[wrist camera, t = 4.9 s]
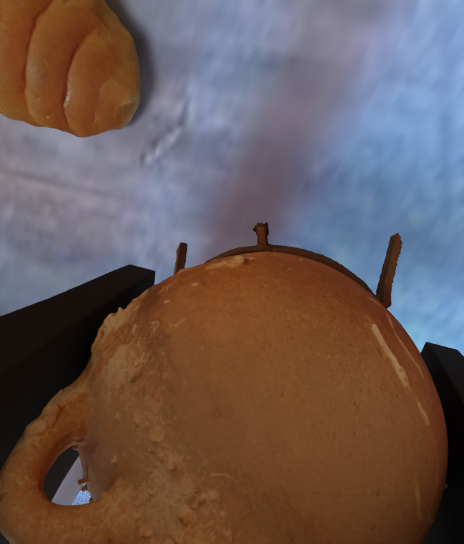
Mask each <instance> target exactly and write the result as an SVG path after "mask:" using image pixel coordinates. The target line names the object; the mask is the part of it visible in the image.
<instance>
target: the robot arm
mask: <svg viewBox="0 0 464 544" xmlns="http://www.w3.org/2000/svg"><path fill="white" fill-rule="evenodd" d="M154 281H155V271H153V270H149V269H145V268H141V267H138V266H134V265H127V266H124V267H121V268H119V269H116V270H114V271H112V272H109V273H107V274H105V275H102V276H100V277H98V278H95V279H93V280H91V281H88V282H86V283H84V284H81V285H79V286H77V287H74V288H72V289H70V290H67V291H65V292H63V293H60V294H58V295H56V296H53V297H51V298H48V299H46V300H43V301H40V302H38V303H35V304H32V305H30V306H27V307H24V308H22V309H19V310H17V311H14V312H11V313H9V314H6V315H3V316H1V317H0V470H1V468H2V466H3V465H4V463H5V461H6V460H7V458H8V456H9V455H10V453H11V451H12V450H13V448H14V447H15V445H16V444H17V442H18V441H19V439H20V438H21V436H22V435H23V433H24V430H25V428H26V426H27V425H29V424H30V423H31V422H32V421H34V420H35V419H37V418H38V417H39V416H40V415H41V414H42V411H43V409H44V407H45V406H47V404H48V403H49V402H50V400H51V399H52V398H53V397H54V396H55V395H56V394H57V393H58V392H59V391H60V390H64V389H65V387H68V386H69V385H71V384H72V383H73V382H74V381H75V380H76V379H77V378H78V377H79V376H80V375H81V374H82V372H83V371H84V370H85V368H86V366H87V364H88V361H89V359H90V357H91V355H92V352H91V346H92V344H93V343H94V341H95V339H96V337H97V334H98V329H99V328H100V327H101V326H102V325H103V322H104V320H105V319H106V318H107V317H108V315H109V314H111V313H113V314H114V313H117V312H118V308H119V307H121V308H122V309H126V308H127V306H128V305H129V304H130V303H131V302H132V300H133V299H135V298H138V297H139V296H140V295H141V294H142V293H143V292H144V291H146V290H147V289H149V288H151V287H152V286H154ZM421 356H422V358H423V360H424V362H425V364H426V366H427V368H428V370H429V373H430V375H431V377H432V380H433V382H434V385H435V388H436V390H437V393H438V395H439V399H440V402H441V405H442V409H443V412H444V418H445V423H446V429H447V437H448V438H447V439H448V466H447V476H446V484H447V486H448V487H447V488H446V489H444V492H443V496H442V500H441V503H440V506H439V509H438V513H437V515H436V518H435V521H434V523H433V524H432V526H431V528H430V530H429V532H428V534H427V535H426V537H425V538H424V540H423V542H422V543H421V544H464V356H463V355H462V354H461V353H460V352H459V351H458V350H456V349H452V348H448V347H444V346H440V345H437V344H433V343H429V342H426V343H425V345H424V347H423V349H422V351H421ZM72 446H73V445H72ZM72 446H71V447H69V448H68V449H66V450H65V451H64V452H63V453H61V454H60V455H59V456H58V457H57V459H56V460H55V462H54V463H53V464H52V466H51V467H50V469H49V470H48V472H47V475H46V476H45V481H44V491H45V493H46V496H47V498H48V499H49V500H50V501H51V502H53V503H56V504H60V505H67V506H70V505H72V503H73V502H74V500H75V498H76V497H77V495H78V493H79V492H80V490H81V488H82V487H83V485H84V483H83V484H81V485H78V483H77V480H79V479H82V478H83V477H84V473H83V470H82V465H81V461H80V457H79V452H78V451H77V450H74V449H73V447H72ZM0 544H10V543H9V541H8V540H7V539H6V538H5V537H4V536H3V534H2V533H1V531H0Z"/></svg>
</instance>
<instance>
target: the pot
mask: <svg viewBox="0 0 464 544" xmlns="http://www.w3.org/2000/svg"><path fill="white" fill-rule="evenodd" d="M253 231H254V232H256V235H257V236H258V238H257V239H258V241H257V242H258V244H257V245H256V246H248V247H239V248H235V249H232V250H229V251H227V252H224V253H222V254H220V255H218V256H216V257H213V258H212V259H210V260H208V261H206V262H205V263H204V264H201V265H198V266H195V267H191V268H185V262H186V253H187V244H186V243H180V244H179V247H178V249H177V252H176V253H177V258H176V264H175V271H174V275H173V276H171V277H169V278H167V279H166V280H164V281H162V282H161V283H159V284H157V285H154V286H152V287H151V288H149V289H147V290H146V291H144V292H143V293H142V294H141V295H140V296H139V297H138V298H135V299H133V300H132V302H131V303H130V304H129V305H128V306H127V308H126V309H122V308H121V307H119V308H118V312H117V313H114V314H113V313H111V314H109V315H108V317H107V318H106V319H105V320H104V322H103V325H102V326H101V327H100V328H99V329H98V334H97V337H96V339H95V341H94V343H93V344H92V346H91V352H92V355H91V357H90V359H89V361H88V364H87V366H86V368H85V370H84V371H83V372H82V374H81V375H80V376H79V377H78V378H77V379H76V380H75V381H74V382H73V383H72V384H71V385H69V386H68V387H65V389H64V390H60V391H59V392H58V393H57V394H56V395H55V396H54V397H53V398H52V399H51V400H50V402H49V403H48V404H47V406H45V407H44V409H43V411H42V414H41V415H40V416H39V417H38V418H37V419H35V420H34V421H32V422H31V423H30V424H29V425H27V426H26V428H25V430H24V433H23V435H22V436H21V438H20V439H19V441H18V442H17V444H16V445H15V447H14V448H13V450H12V451H11V453H10V455H9V456H8V458H7V460H6V461H5V463H4V465H3V466H2V468H1V470H0V531H1V533H2V534H3V536H4V537H5V538H6V539H7V540H8V541H9V543H10V544H421V543H422V542H423V540H424V538H425V537H426V535H427V534H428V532H429V530H430V528H431V526H432V524H433V523H434V521H435V518H436V515H437V513H438V509H439V506H440V503H441V500H442V496H443V492H444V489H446V488H447V487H448V486H447V484H446V476H447V466H448V439H447V438H448V437H447V429H446V423H445V418H444V412H443V409H442V405H441V402H440V399H439V395H438V393H437V390H436V388H435V385H434V382H433V380H432V377H431V375H430V373H429V370H428V368H427V366H426V364H425V362H424V360H423V358H422V356H421V354H420V352H419V350H418V349H417V347H416V345H415V344H414V342H413V341H412V339H411V338H410V336H409V335H408V334H407V332H406V331H405V329H404V328H403V327H402V325H401V324H400V323H399V322H398V321H397V319H396V318H395V317H394V316H393V315H392V314H391V313H390V312H389V311H388V310H387V308H388V307H390V306H391V291H392V283H393V278H394V276H395V270H396V266H397V261H398V257H399V254H400V251H401V247H402V246H401V245H402V241H401V237H400V235H399V233H396V235H393V236H392V237H391V238H390V241H389V246H388V249H387V253H386V258H385V260H384V264H383V268H382V273H381V275H380V280H379V283H378V288H377V290H376V292H377V293H376V295H375V294H374V293H373V292H372V291H371V289H370V288H369V287H368V286H367V284H366V283H365V282H364V281H362V280H361V279H360V278H359V277H357V276H356V275H355V274H354V273H352V272H351V271H349V270H348V269H347V268H345V267H344V266H343V265H341V264H339V263H338V262H336V261H334V260H332V259H330V258H328V257H326V256H323V255H321V254H318V253H314V252H312V251H307V250H304V249H300V248H295V247H288V246H281V245H271V244H269V243H268V238H267V236H268V234H269V228H268V223H265V224H263V223H257V225H255V227H254V228H253ZM72 445H73V446H72ZM71 446H72V447H73V449H74V450H77V451H78V452H79V457H80V461H81V465H82V470H83V473H84V477H83V478H82V479H79V480H77V483H78V485H81V484H83V483H85V482H86V484H85V486H83V487H82V489H81V490H82V491H89V492H90V494H91V498H90V500H89V502H90V503H87V504H82V505H70V506H67V505H60V504H56V503H53V502H51V501H50V500H49V499H48V498H47V496H46V493H45V491H44V481H45V476H46V475H47V472H48V470H49V469H50V467H51V466H52V464H53V463H54V462H55V460H56V459H57V457H58V456H59V455H60V454H61V453H63V452H64V451H65V450H66V449H68V448H69V447H71Z"/></svg>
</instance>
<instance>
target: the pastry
mask: <svg viewBox="0 0 464 544" xmlns="http://www.w3.org/2000/svg"><path fill="white" fill-rule="evenodd" d="M140 98H141V71H140V62H139V58H138V55H137V52H136V48H135V43H134V39H133V37H132V35H131V34H130V33H129V31H128V30H127V29H126V28H125V27H124V26H123V25H122V24H121V22H120V20H119V18H118V16H117V15H116V14H115V12H113V11H112V10H111V9H110V7H109V6H108V4H107V3H106V1H105V0H0V113H2V114H3V115H5V116H6V117H8V118H10V119H13V120H20V121H24V122H26V123H29V124H31V125H33V126H38V127H49V128H56V129H58V130H61V131H65V132H68V133H71V134H73V135H75V136H77V137H88V136H92V135H97V134H100V133H103V132H105V131H107V130H110V129H121V128H123V127H125V126H126V125H127V124H129V122H130V121H131V119H132V117H133V115H134V114H135V112H136V110H137V108H138V105H139V102H140Z"/></svg>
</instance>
